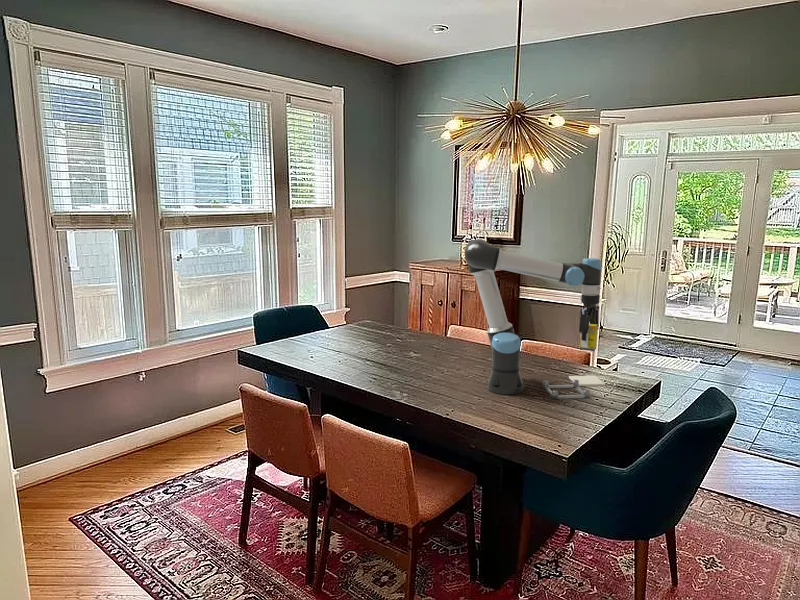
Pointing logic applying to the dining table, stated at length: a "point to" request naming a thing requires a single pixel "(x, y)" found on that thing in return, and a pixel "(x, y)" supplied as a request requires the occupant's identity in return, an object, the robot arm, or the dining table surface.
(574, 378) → the plate
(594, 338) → the supplement box
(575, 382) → the grey rod square frame
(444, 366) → the dining table surface
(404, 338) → the dining table surface
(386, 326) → the dining table surface
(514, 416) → the dining table surface
